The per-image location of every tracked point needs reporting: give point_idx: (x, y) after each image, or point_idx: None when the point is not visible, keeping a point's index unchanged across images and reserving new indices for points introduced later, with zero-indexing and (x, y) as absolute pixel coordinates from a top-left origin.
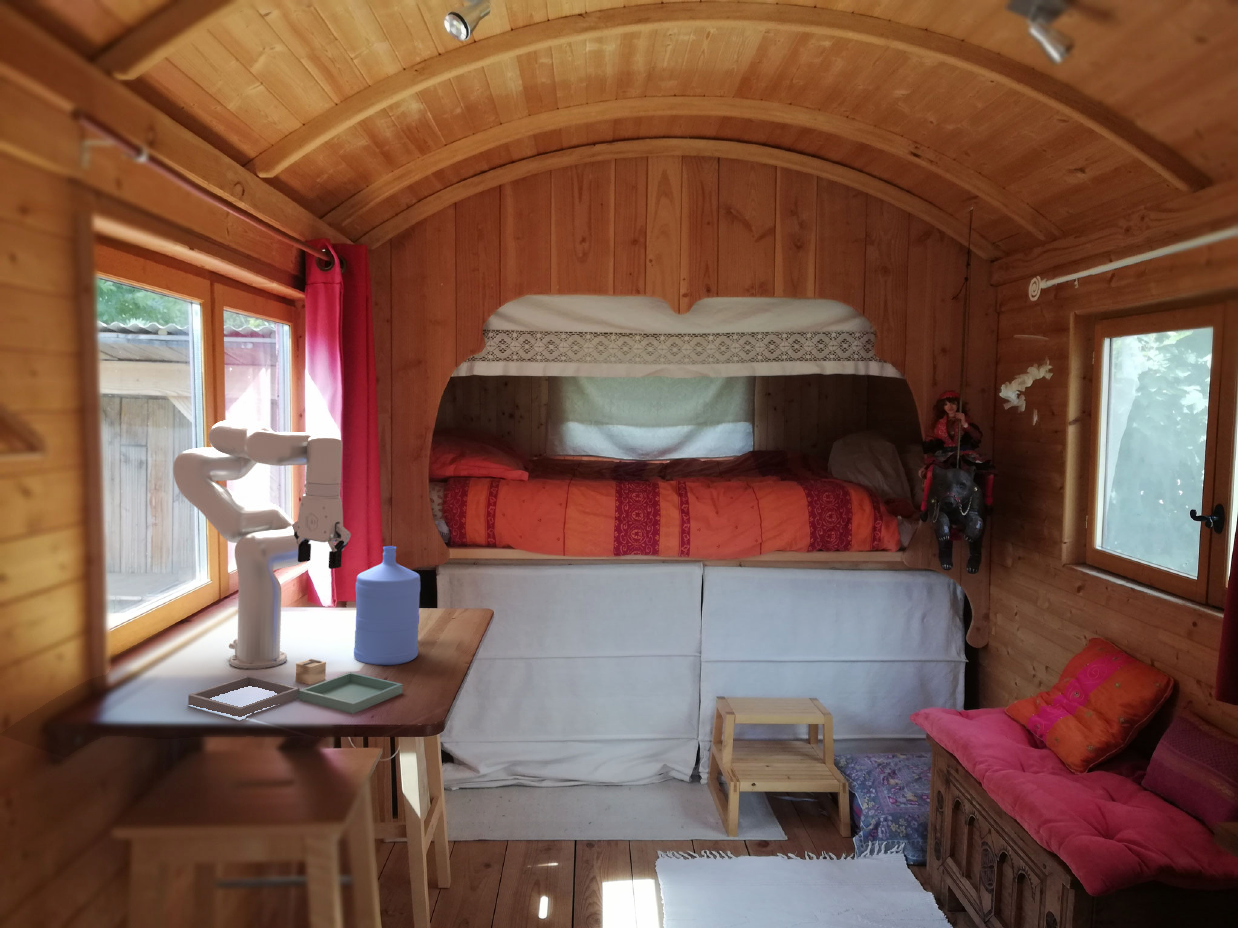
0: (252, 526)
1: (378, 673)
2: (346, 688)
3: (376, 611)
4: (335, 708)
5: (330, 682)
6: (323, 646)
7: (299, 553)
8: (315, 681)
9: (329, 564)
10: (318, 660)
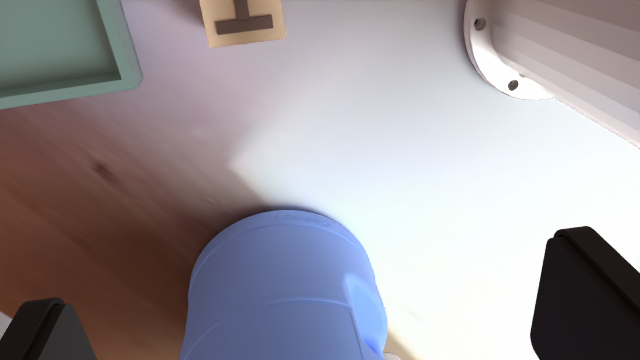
0: None
1: (165, 186)
2: (70, 17)
3: (232, 348)
4: None
5: None
6: (492, 225)
7: (630, 296)
8: None
9: (24, 331)
10: (247, 41)
